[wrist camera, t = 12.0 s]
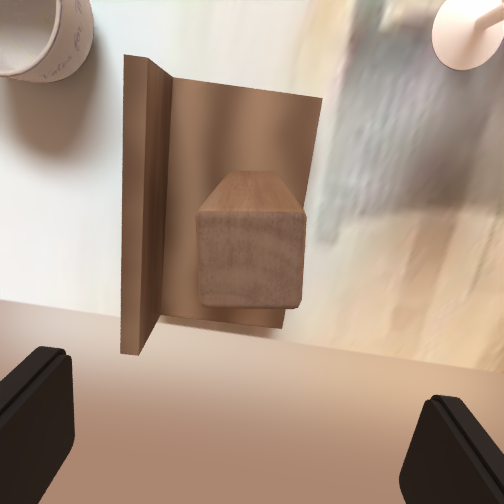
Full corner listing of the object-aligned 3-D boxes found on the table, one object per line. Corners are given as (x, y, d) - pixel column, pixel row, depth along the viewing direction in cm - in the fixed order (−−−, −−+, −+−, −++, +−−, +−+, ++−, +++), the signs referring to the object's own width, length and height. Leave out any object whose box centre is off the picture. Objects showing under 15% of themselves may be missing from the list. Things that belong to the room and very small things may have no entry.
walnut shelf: (312, 104, 33) (343, 85, 22) (278, 306, 40) (288, 372, 29) (168, 84, 33) (123, 54, 22) (158, 292, 40) (120, 353, 28)
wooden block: (275, 266, 33) (297, 398, 16) (228, 265, 33) (201, 397, 16) (278, 171, 31) (308, 209, 13) (227, 170, 31) (193, 208, 13)
